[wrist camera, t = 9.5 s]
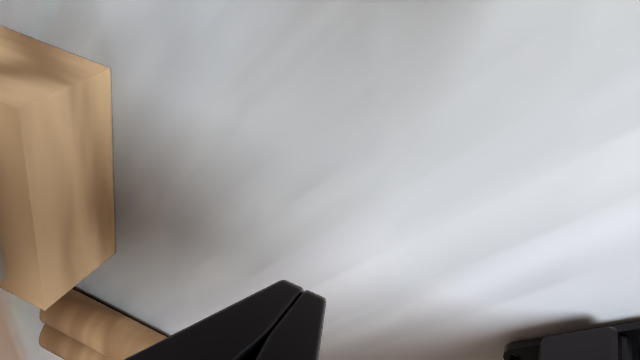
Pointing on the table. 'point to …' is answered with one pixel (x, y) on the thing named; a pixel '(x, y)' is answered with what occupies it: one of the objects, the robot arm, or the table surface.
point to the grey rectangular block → (2, 265)
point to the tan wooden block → (53, 168)
